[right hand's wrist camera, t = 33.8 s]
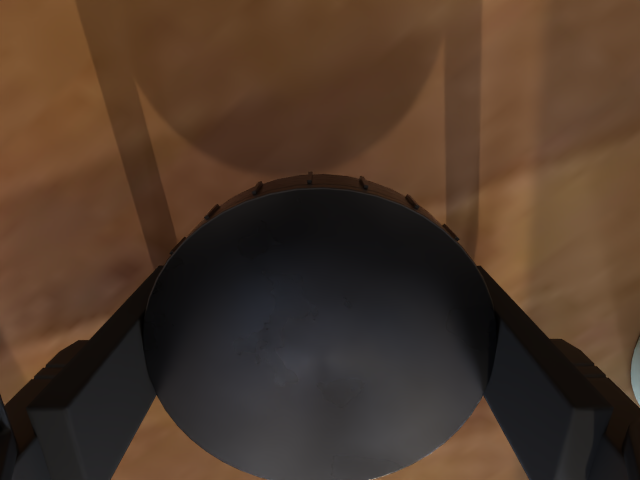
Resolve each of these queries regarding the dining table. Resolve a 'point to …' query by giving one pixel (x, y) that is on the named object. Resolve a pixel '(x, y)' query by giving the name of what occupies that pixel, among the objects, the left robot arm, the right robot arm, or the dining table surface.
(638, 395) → the jar
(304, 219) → the lid
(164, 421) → the dining table surface
